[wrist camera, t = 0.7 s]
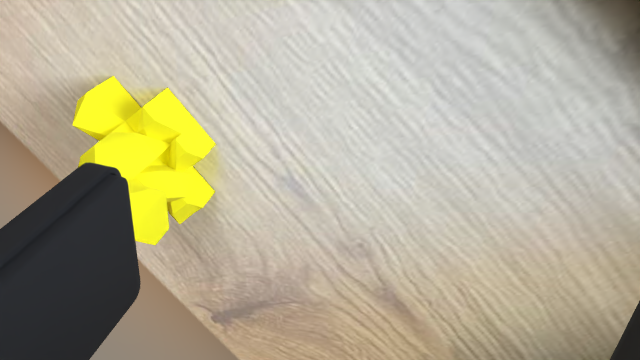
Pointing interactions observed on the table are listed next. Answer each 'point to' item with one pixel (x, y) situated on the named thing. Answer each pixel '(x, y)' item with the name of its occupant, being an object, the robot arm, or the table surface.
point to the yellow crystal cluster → (147, 153)
